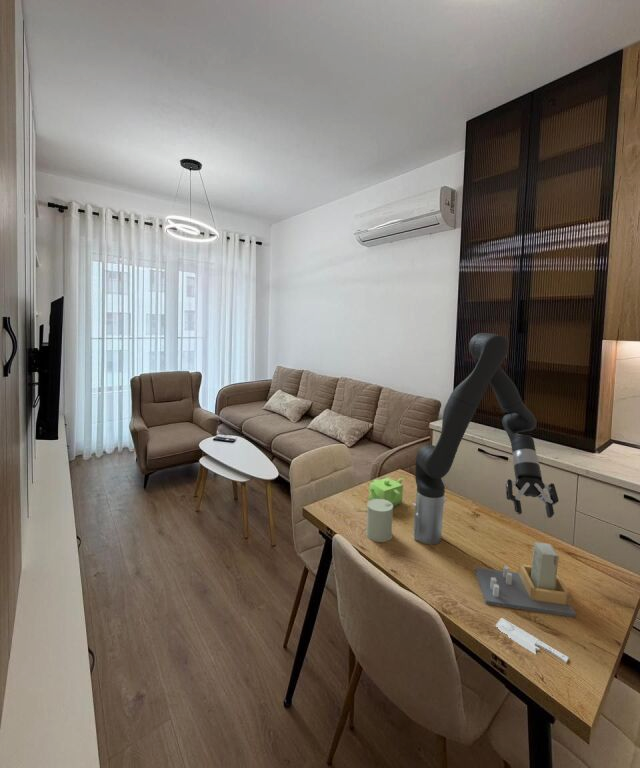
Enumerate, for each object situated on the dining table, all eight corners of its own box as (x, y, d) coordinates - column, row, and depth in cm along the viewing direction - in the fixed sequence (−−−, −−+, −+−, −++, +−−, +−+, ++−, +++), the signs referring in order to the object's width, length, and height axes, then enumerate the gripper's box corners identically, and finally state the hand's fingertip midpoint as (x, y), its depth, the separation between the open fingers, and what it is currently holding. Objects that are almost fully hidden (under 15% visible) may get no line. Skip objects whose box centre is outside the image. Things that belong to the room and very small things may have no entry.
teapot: (402, 497, 160) (403, 474, 158) (405, 513, 147) (406, 489, 145) (367, 495, 162) (368, 472, 160) (366, 510, 149) (367, 486, 147)
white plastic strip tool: (560, 674, 81) (561, 670, 81) (492, 630, 92) (493, 627, 92) (568, 660, 84) (569, 656, 84) (501, 620, 96) (502, 616, 95)
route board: (485, 603, 100) (487, 590, 100) (475, 570, 114) (476, 558, 113) (575, 617, 96) (577, 603, 95) (553, 580, 110) (554, 568, 109)
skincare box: (554, 596, 102) (560, 557, 100) (537, 594, 103) (542, 555, 100) (545, 580, 108) (550, 543, 106) (529, 578, 109) (534, 541, 107)
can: (395, 540, 128) (397, 509, 126) (370, 543, 127) (371, 511, 125) (386, 526, 137) (388, 496, 135) (362, 528, 136) (363, 498, 134)
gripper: (506, 459, 120) (513, 509, 111) (554, 463, 117) (565, 514, 108) (500, 468, 126) (506, 516, 117) (545, 472, 123) (555, 521, 114)
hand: (534, 515), depth 113 cm, fingers open, 8 cm apart
